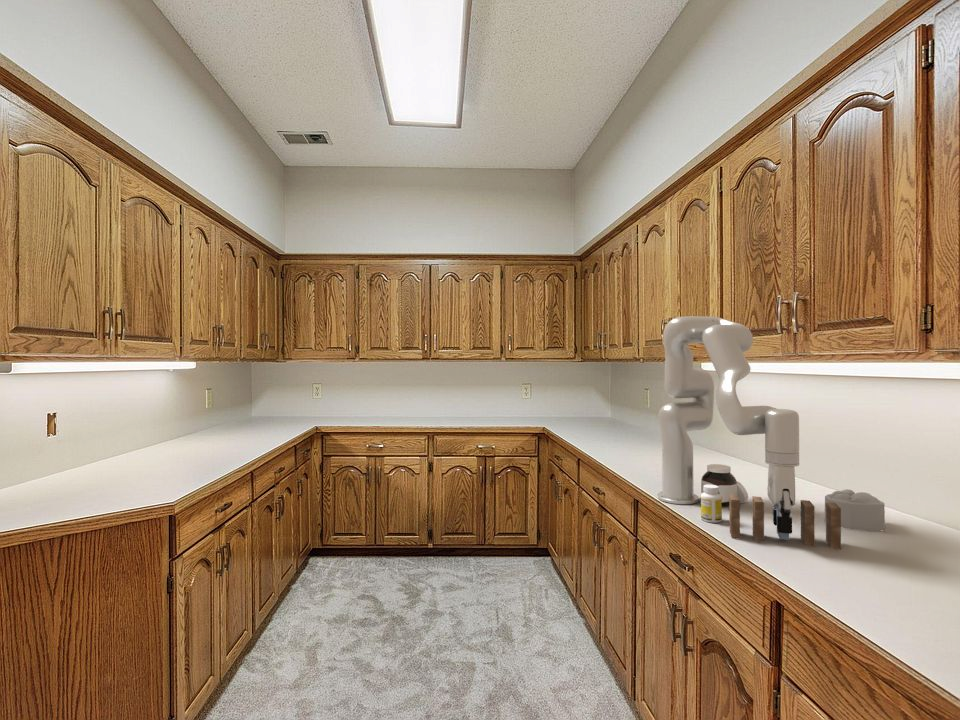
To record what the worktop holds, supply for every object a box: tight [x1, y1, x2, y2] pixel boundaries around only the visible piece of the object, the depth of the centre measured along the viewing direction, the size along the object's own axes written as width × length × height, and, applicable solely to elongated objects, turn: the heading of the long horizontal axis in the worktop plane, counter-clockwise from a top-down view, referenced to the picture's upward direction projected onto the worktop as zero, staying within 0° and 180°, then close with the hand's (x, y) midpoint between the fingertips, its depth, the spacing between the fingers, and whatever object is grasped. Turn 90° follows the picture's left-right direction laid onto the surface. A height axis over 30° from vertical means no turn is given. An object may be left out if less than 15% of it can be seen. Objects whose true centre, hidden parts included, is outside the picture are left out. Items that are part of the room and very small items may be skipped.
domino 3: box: [800, 499, 816, 548], centre depth 130 cm, size 2×5×10 cm, turn 159°
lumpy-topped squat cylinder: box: [824, 489, 886, 532], centre depth 143 cm, size 10×13×9 cm
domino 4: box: [825, 502, 842, 550], centre depth 128 cm, size 2×5×10 cm, turn 159°
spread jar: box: [700, 463, 749, 507], centre depth 165 cm, size 12×11×12 cm
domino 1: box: [728, 495, 741, 539], centre depth 136 cm, size 2×5×10 cm, turn 159°
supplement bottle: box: [700, 485, 723, 524], centre depth 148 cm, size 5×5×10 cm
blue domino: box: [775, 502, 790, 541], centre depth 132 cm, size 2×5×10 cm, turn 159°
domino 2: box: [751, 496, 765, 542], centre depth 134 cm, size 2×5×10 cm, turn 159°
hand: (782, 528), depth 132 cm, fingers closed on blue domino, 4 cm apart
